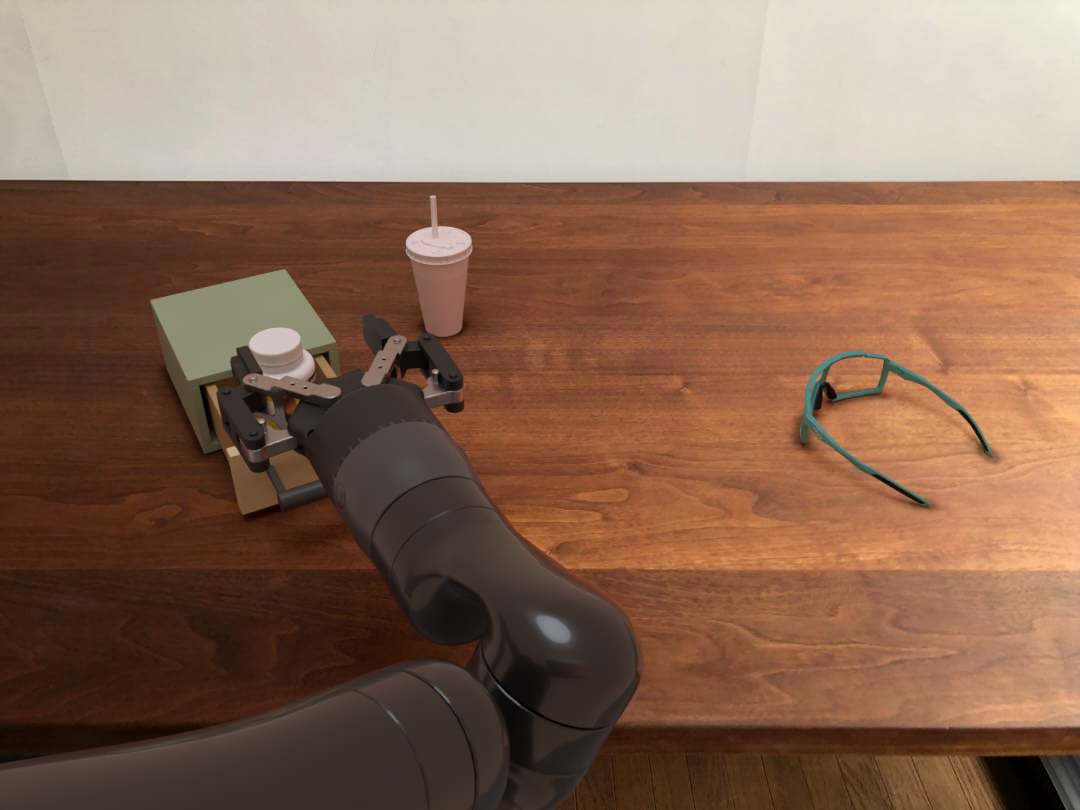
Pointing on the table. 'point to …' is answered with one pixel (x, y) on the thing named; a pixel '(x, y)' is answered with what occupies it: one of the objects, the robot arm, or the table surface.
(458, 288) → the smoothie
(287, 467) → the drawer
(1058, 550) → the table surface
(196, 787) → the robot arm
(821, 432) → the sunglasses
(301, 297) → the cabinet
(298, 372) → the supplement bottle
